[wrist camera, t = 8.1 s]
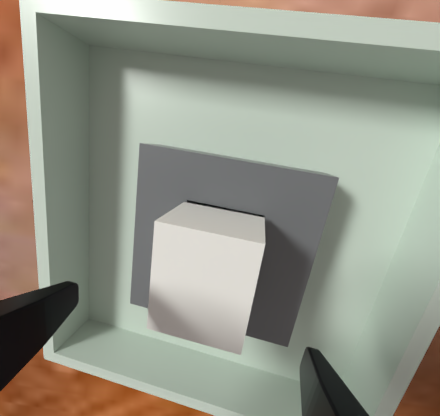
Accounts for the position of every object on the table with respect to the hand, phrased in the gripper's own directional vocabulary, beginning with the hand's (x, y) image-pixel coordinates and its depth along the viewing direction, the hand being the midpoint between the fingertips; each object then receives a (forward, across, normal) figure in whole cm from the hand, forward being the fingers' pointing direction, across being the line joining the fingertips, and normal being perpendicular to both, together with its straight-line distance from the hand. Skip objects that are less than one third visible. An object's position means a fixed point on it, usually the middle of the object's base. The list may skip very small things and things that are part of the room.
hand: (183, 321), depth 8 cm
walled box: (+11, 0, 0) cm, 11 cm away
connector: (+10, 0, 0) cm, 10 cm away
